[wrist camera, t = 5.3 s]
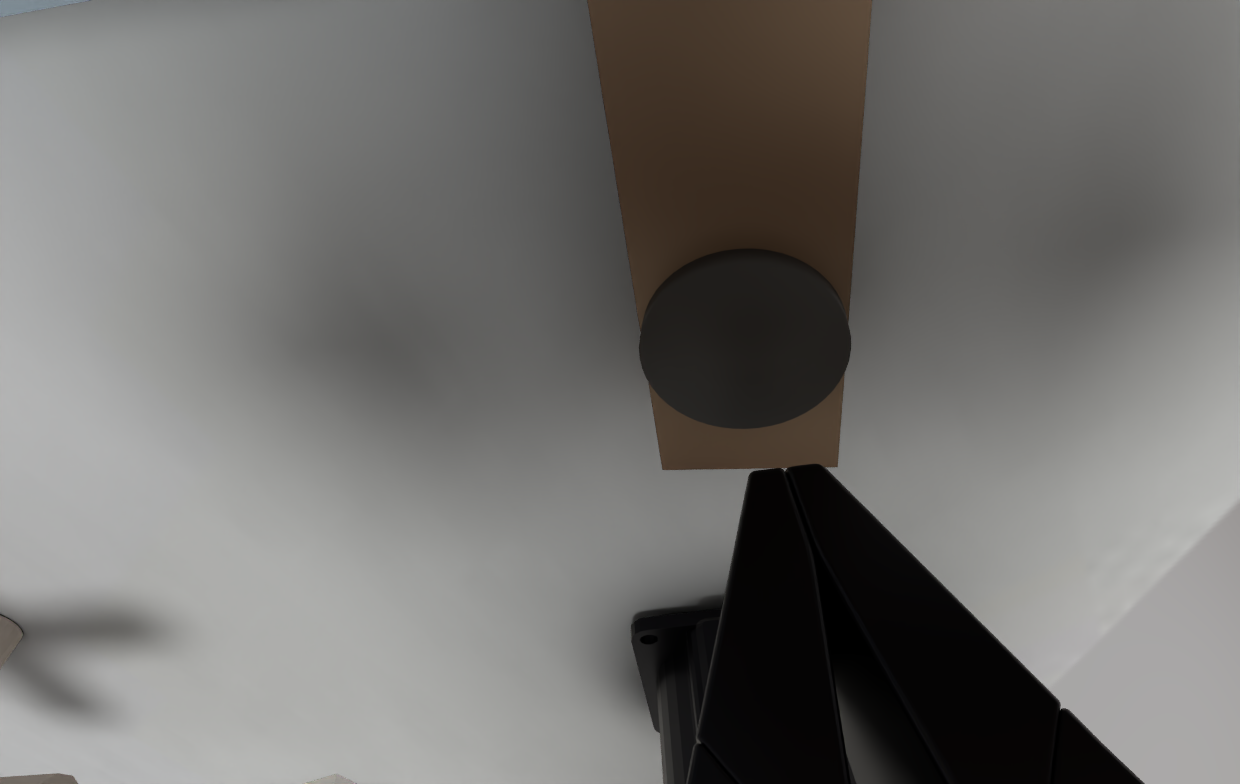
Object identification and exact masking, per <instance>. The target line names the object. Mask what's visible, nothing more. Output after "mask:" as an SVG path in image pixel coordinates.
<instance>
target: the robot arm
mask: <svg viewBox="0 0 1240 784" xmlns="http://www.w3.org/2000/svg"><path fill="white" fill-rule="evenodd" d="M631 642H632V645H633V649H634V653H635V657H636V661H637V664H638V668H639V672H640V676H641V680H642V683H643V687H644V691H645V695H646V699H647V703H648V706H649V710H650V714H651V718H652V722H653V725H654V729H655V730H656V731H657V732H659V733H660V741H661V755H662V769H663V783H664V784H1144V783H1143V782H1142V781H1141V780H1140V779H1139V778H1138V777H1137V776H1136V775H1135V774H1134V773H1133V772H1132V771H1131V770H1130V769H1129V768H1128V767H1127V766H1125V765H1124V764H1123V763H1122V762H1121V761H1120V760H1119V759H1118V758H1117V757H1116V756H1115V755H1114V754H1113V753H1112V752H1111V751H1110V750H1109V749H1108V748H1107V747H1105V746H1104V745H1103V744H1102V743H1101V742H1100V741H1099V740H1098V739H1097V738H1096V737H1095V736H1094V735H1093V734H1092V733H1091V732H1090V731H1089V730H1088V729H1087V728H1086V726H1085V725H1083V724H1082V722H1080V720H1078V718H1077V717H1075V715H1074V714H1073V713H1071V711H1069V710H1068V709H1066V708H1063V709H1061V710H1060V706H1061V705H1060V702H1059V700H1058V699H1057V698H1056V697H1055V696H1054V695H1053V694H1052V693H1051V692H1050V691H1049V690H1048V689H1047V688H1046V687H1045V686H1044V685H1043V684H1042V683H1041V682H1040V681H1039V680H1038V679H1037V678H1036V677H1035V676H1034V675H1033V674H1032V673H1031V672H1030V671H1029V670H1028V669H1027V668H1026V667H1025V666H1024V665H1023V664H1022V663H1021V662H1020V661H1019V660H1018V659H1017V658H1016V657H1015V656H1014V655H1013V654H1012V653H1011V652H1010V651H1009V650H1008V649H1007V648H1006V647H1005V646H1004V645H1003V644H1002V643H1001V642H1000V641H999V640H998V639H997V638H996V637H995V636H994V635H993V634H992V633H991V632H990V631H989V630H988V629H987V628H986V627H985V626H984V625H983V624H982V623H981V622H980V621H979V620H978V619H977V618H976V617H975V616H974V615H973V614H972V613H971V612H970V611H969V610H968V609H967V608H966V607H965V606H964V605H963V604H962V603H961V602H960V601H959V600H958V599H957V598H956V597H955V596H954V595H953V594H952V593H951V592H950V591H949V590H948V589H947V588H946V587H945V586H944V585H943V584H942V583H941V582H940V581H939V580H938V579H937V578H936V577H935V576H934V575H933V574H932V573H931V572H930V571H928V570H927V569H926V568H925V567H924V566H923V565H922V564H921V563H920V562H919V561H918V560H917V559H916V558H915V557H914V556H913V555H912V554H911V553H910V552H909V551H908V550H907V549H906V548H905V547H904V546H903V545H902V544H901V543H900V542H899V541H898V540H897V539H896V538H895V537H894V536H893V535H892V534H891V533H890V532H889V531H888V530H887V529H886V528H885V527H884V526H883V525H882V524H881V523H880V522H879V521H878V520H877V519H876V518H875V517H874V516H873V515H872V514H871V513H870V512H869V511H868V510H867V509H866V508H865V507H864V506H863V505H862V504H861V503H860V502H859V501H858V500H857V499H856V498H855V497H854V496H853V495H852V494H851V493H850V492H849V491H848V490H847V489H846V488H845V487H844V486H843V485H842V484H841V483H840V482H839V481H838V480H837V479H836V478H835V477H834V476H833V475H832V474H831V473H830V472H829V471H828V470H827V469H826V468H825V467H824V466H822V465H820V464H807V465H798V466H791V467H789V468H787V469H786V471H784V470H783V469H781V468H774V469H766V470H758V471H753V472H751V473H750V475H749V477H748V482H747V487H746V492H745V497H744V502H743V507H742V512H741V517H740V522H739V526H738V531H737V536H736V541H735V546H734V551H733V556H732V561H731V566H730V571H729V576H728V581H727V586H726V591H725V596H724V601H723V606H722V609H718V610H708V611H699V612H690V613H681V614H672V615H663V616H653V617H645V618H641V619H638V620H636V621H634V622H633V624H632V625H631Z"/></svg>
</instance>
